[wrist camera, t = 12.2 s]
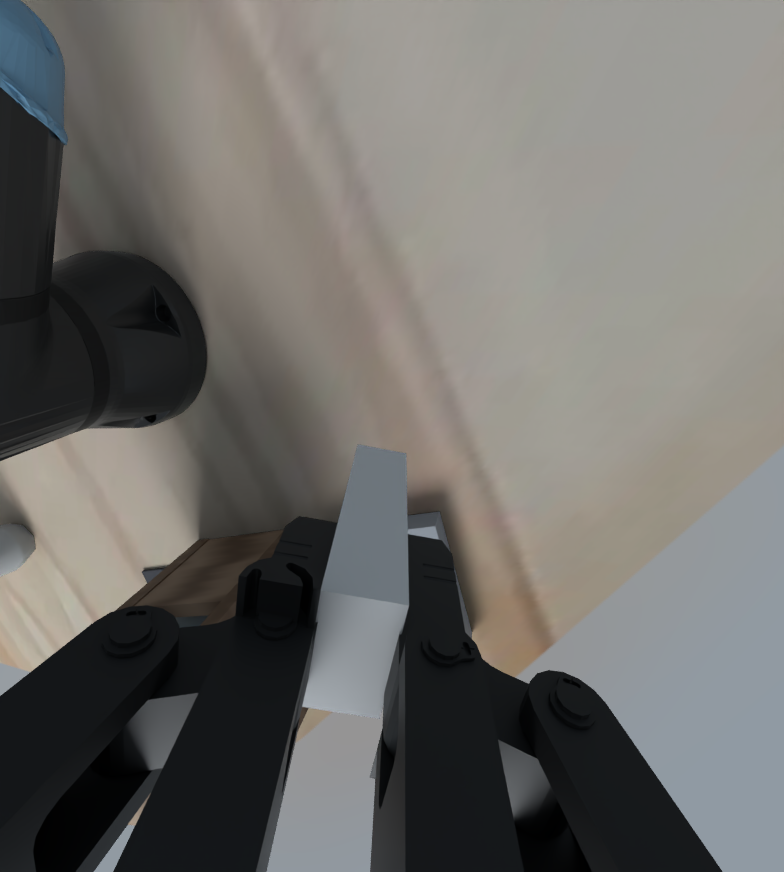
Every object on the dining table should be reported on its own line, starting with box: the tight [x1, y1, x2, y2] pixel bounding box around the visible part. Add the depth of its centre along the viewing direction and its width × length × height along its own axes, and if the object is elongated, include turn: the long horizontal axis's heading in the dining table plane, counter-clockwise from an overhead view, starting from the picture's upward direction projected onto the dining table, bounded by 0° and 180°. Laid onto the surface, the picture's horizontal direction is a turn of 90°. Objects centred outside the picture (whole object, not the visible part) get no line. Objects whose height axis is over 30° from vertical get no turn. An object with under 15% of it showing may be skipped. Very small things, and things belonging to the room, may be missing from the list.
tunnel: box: [116, 530, 308, 826], centre depth 39 cm, size 12×14×18 cm
